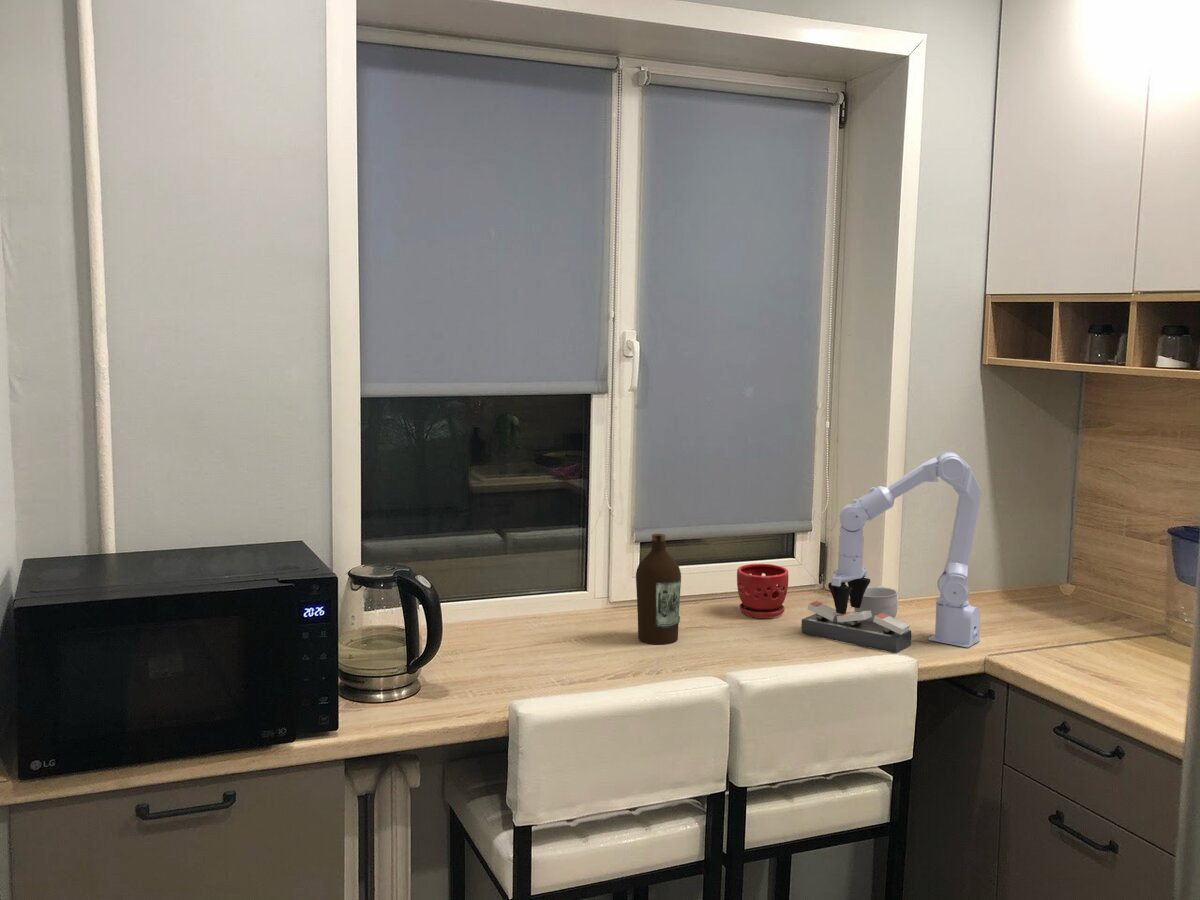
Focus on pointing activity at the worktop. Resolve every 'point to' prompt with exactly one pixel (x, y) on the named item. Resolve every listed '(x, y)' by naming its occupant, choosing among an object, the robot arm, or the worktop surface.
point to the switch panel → (856, 633)
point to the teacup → (879, 602)
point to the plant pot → (762, 589)
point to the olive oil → (658, 595)
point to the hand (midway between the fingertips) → (848, 610)
